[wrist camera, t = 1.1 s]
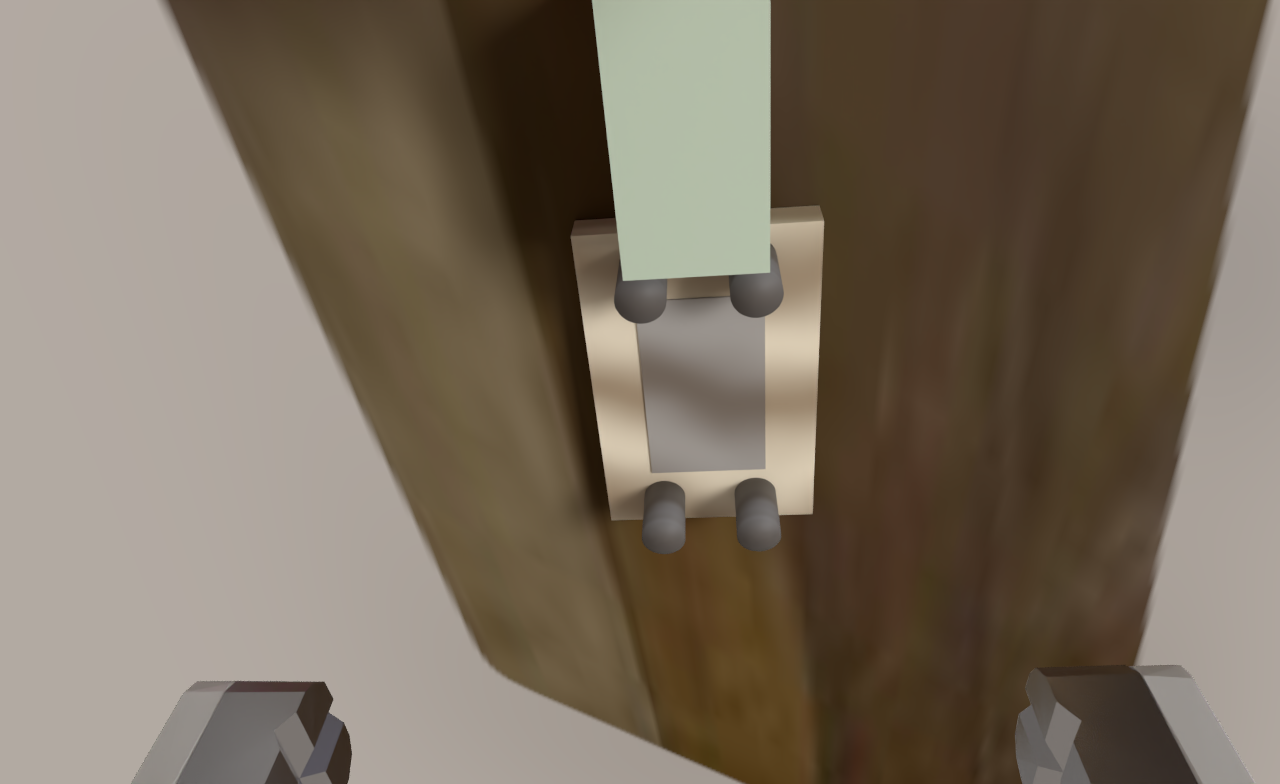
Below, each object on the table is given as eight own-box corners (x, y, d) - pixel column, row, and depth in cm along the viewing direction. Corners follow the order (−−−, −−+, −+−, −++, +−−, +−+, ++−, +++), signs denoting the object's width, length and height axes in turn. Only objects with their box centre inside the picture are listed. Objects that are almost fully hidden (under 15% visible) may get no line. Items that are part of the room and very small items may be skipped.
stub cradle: (574, 220, 36) (561, 269, 32) (819, 205, 35) (834, 254, 31) (613, 500, 45) (607, 562, 41) (809, 493, 44) (819, 557, 40)
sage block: (609, -44, 30) (591, -3, 24) (754, -57, 30) (770, -18, 24) (633, 199, 35) (622, 280, 29) (756, 191, 35) (770, 272, 29)
